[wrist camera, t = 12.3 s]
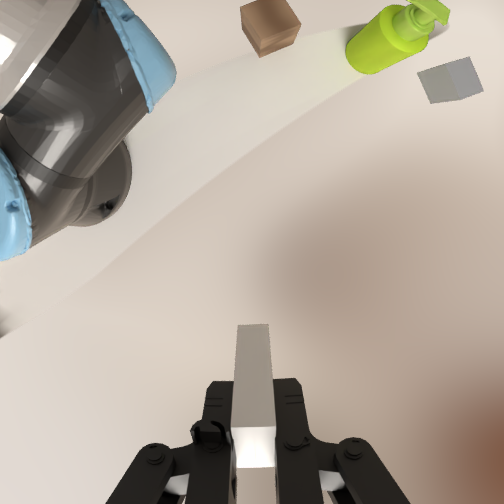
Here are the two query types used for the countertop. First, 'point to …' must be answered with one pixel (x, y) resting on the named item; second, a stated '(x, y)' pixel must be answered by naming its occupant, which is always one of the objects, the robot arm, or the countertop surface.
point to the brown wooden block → (269, 25)
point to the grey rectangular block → (451, 81)
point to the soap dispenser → (394, 35)
